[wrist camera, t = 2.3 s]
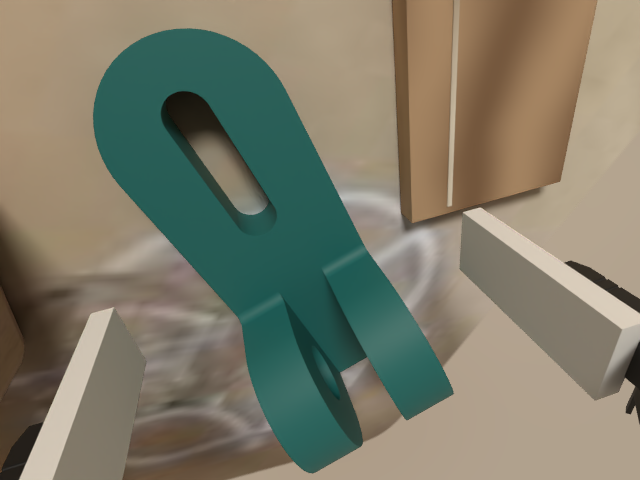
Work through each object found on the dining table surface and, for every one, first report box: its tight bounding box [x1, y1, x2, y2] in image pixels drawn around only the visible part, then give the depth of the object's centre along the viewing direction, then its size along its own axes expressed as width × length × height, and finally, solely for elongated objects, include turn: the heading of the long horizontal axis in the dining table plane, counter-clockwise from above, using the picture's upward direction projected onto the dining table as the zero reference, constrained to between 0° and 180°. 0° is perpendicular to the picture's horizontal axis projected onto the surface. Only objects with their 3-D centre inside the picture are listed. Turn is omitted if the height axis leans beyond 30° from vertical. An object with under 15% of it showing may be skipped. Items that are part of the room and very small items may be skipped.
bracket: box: [93, 29, 454, 473], centre depth 15 cm, size 18×7×8 cm, turn 26°
